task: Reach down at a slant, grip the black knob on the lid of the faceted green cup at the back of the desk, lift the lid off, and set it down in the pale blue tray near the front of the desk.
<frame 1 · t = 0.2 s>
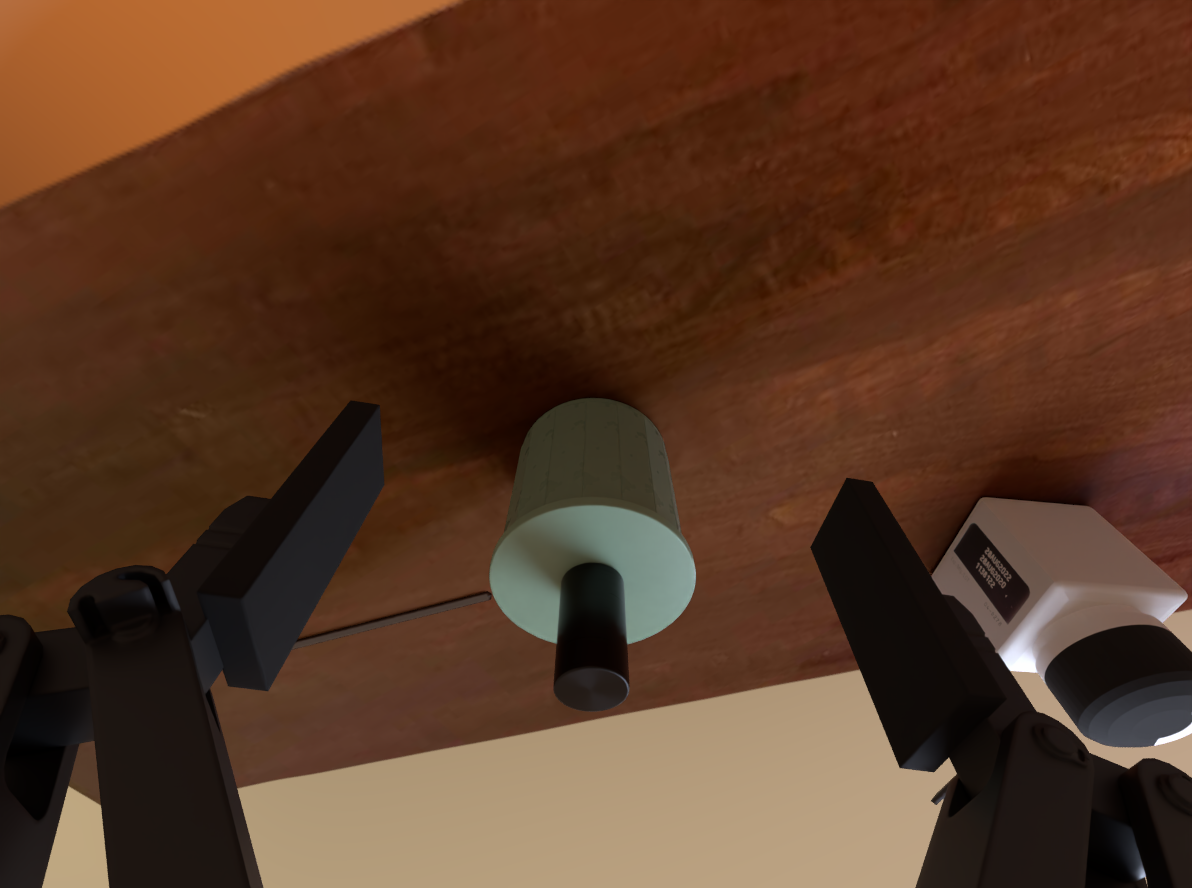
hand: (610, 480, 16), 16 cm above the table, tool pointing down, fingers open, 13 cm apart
container: (1003, 540, 39), on the table
faceted green cup: (593, 460, 35), on the table
lid: (592, 574, 27), point 9 cm above the table, touching faceted green cup
rod: (383, 616, 44), on the table
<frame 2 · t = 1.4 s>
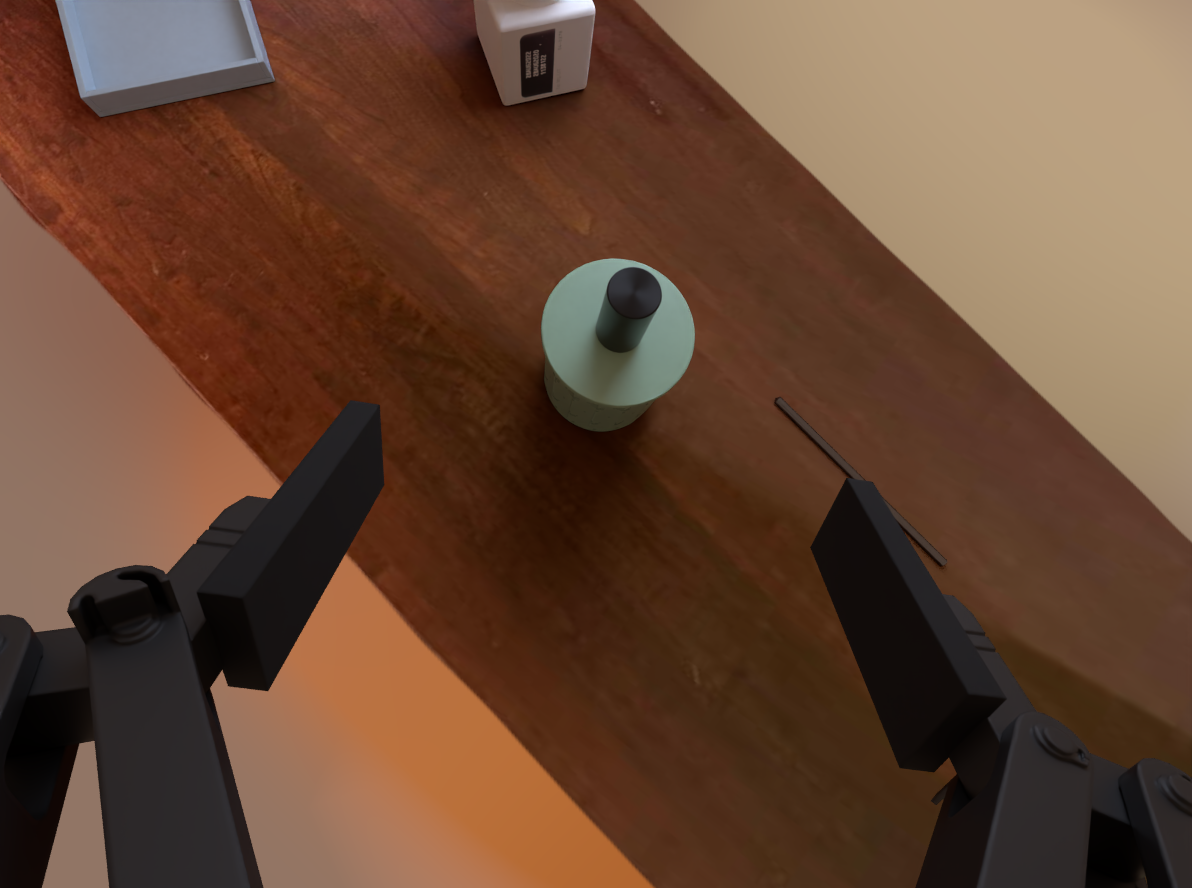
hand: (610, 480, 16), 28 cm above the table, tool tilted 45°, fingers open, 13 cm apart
container: (532, 63, 50), on the table
tray: (169, 29, 46), on the table
faceted green cup: (600, 376, 45), on the table
lid: (617, 333, 36), point 9 cm above the table, touching faceted green cup
rod: (854, 480, 47), on the table
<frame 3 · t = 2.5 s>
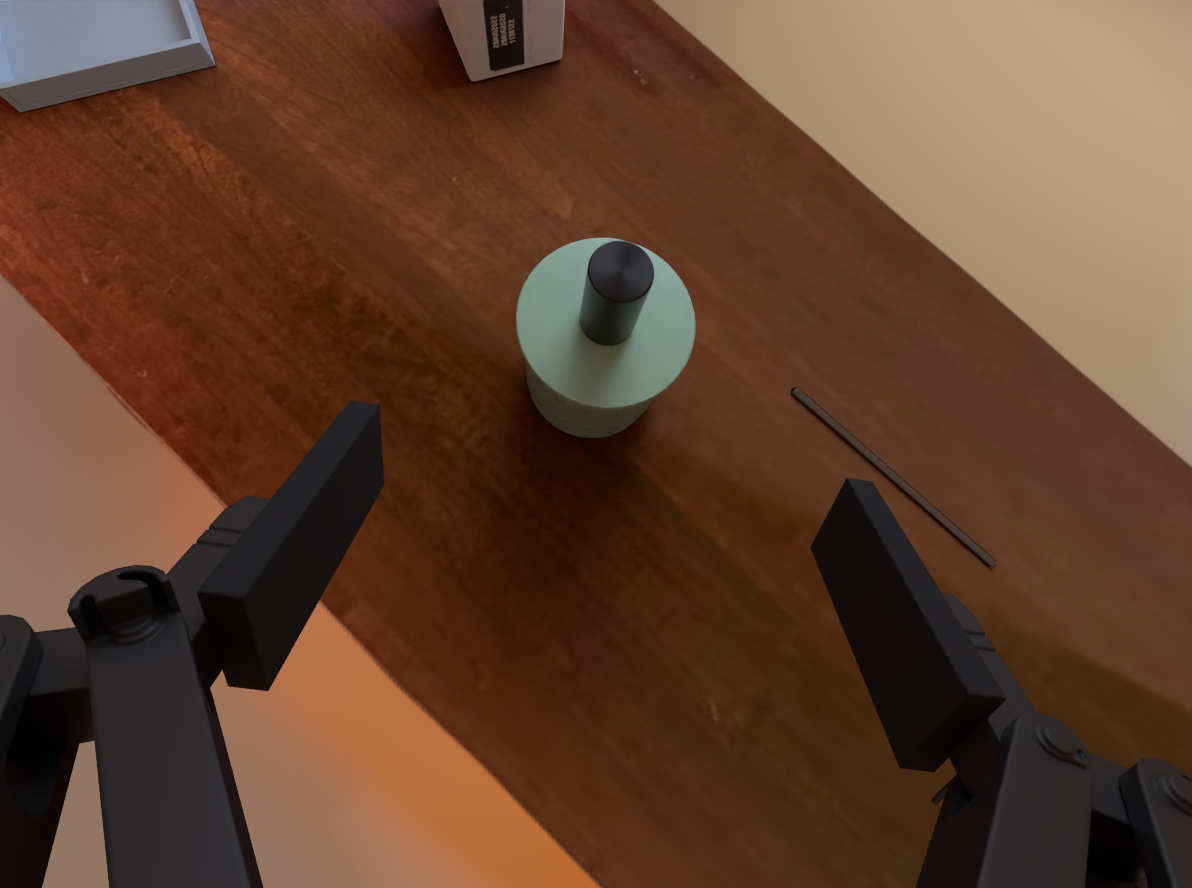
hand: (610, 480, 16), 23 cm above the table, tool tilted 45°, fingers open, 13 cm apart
container: (501, 35, 45), on the table
tray: (97, 13, 42), on the table
faceted green cup: (590, 376, 40), on the table
lid: (605, 324, 31), point 9 cm above the table, touching faceted green cup
rod: (885, 476, 42), on the table
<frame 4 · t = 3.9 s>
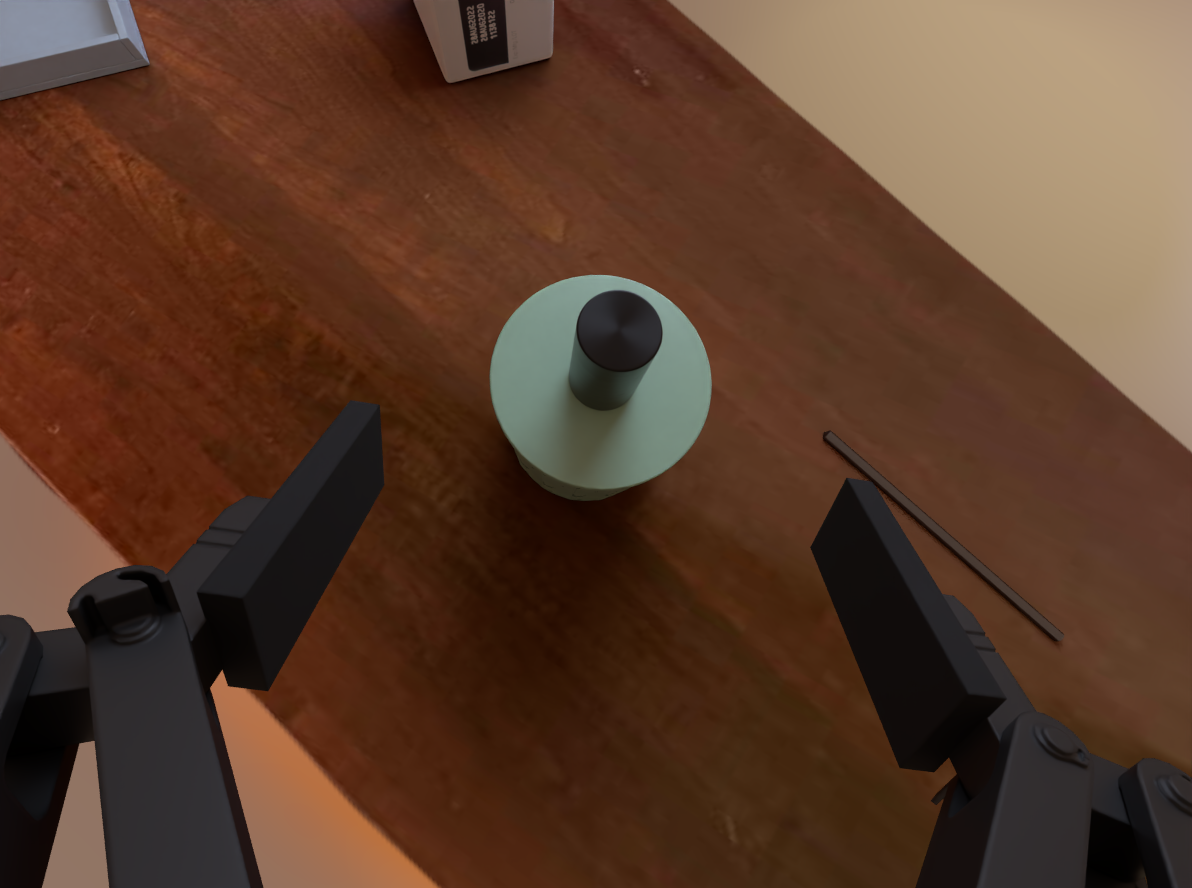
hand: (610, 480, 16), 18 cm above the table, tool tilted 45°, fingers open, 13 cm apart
container: (482, 30, 39), on the table
tray: (12, 4, 36), on the table
faceted green cup: (585, 427, 34), on the table
lid: (601, 381, 25), point 9 cm above the table, touching faceted green cup
rod: (933, 533, 36), on the table
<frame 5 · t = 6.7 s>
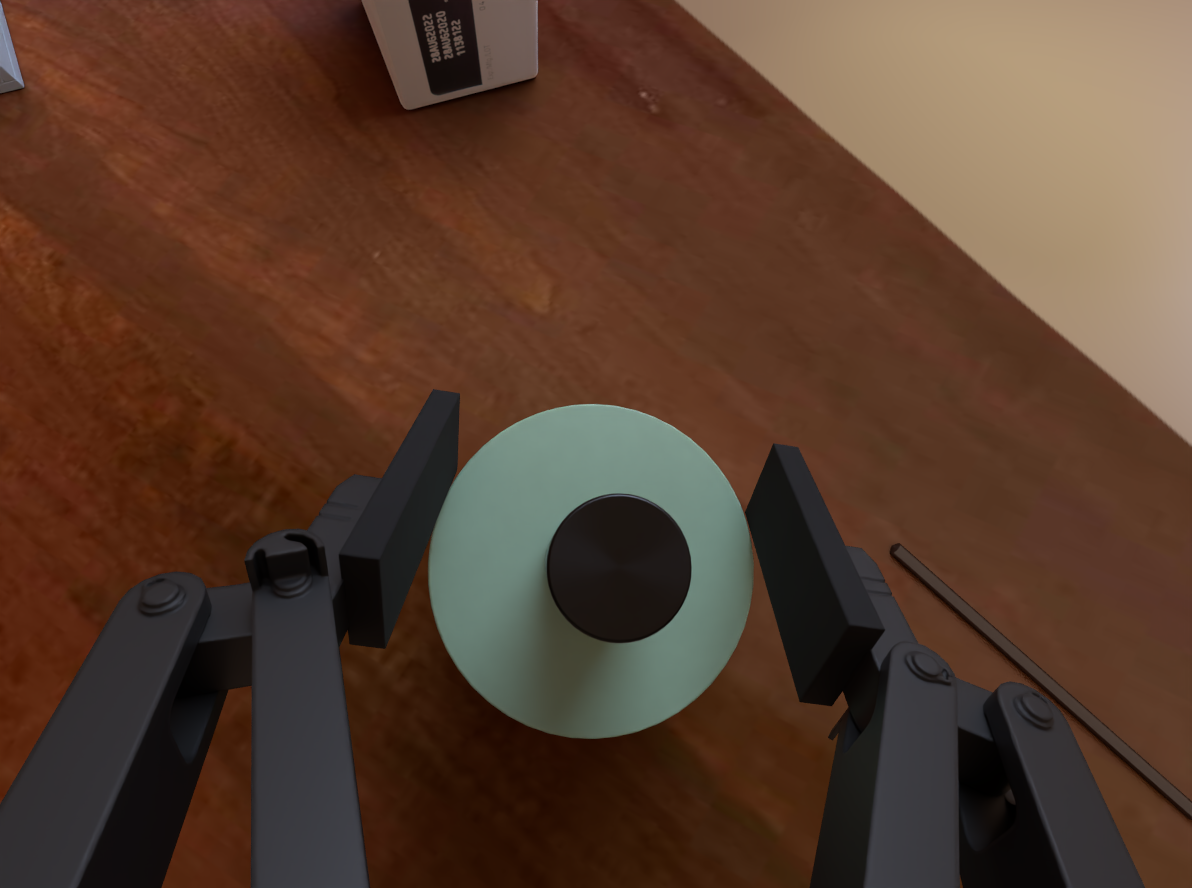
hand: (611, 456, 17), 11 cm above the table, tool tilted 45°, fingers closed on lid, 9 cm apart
container: (451, 42, 32), on the table
lid: (593, 561, 17), point 10 cm above the table, touching faceted green cup, gripper
rod: (1030, 674, 28), on the table
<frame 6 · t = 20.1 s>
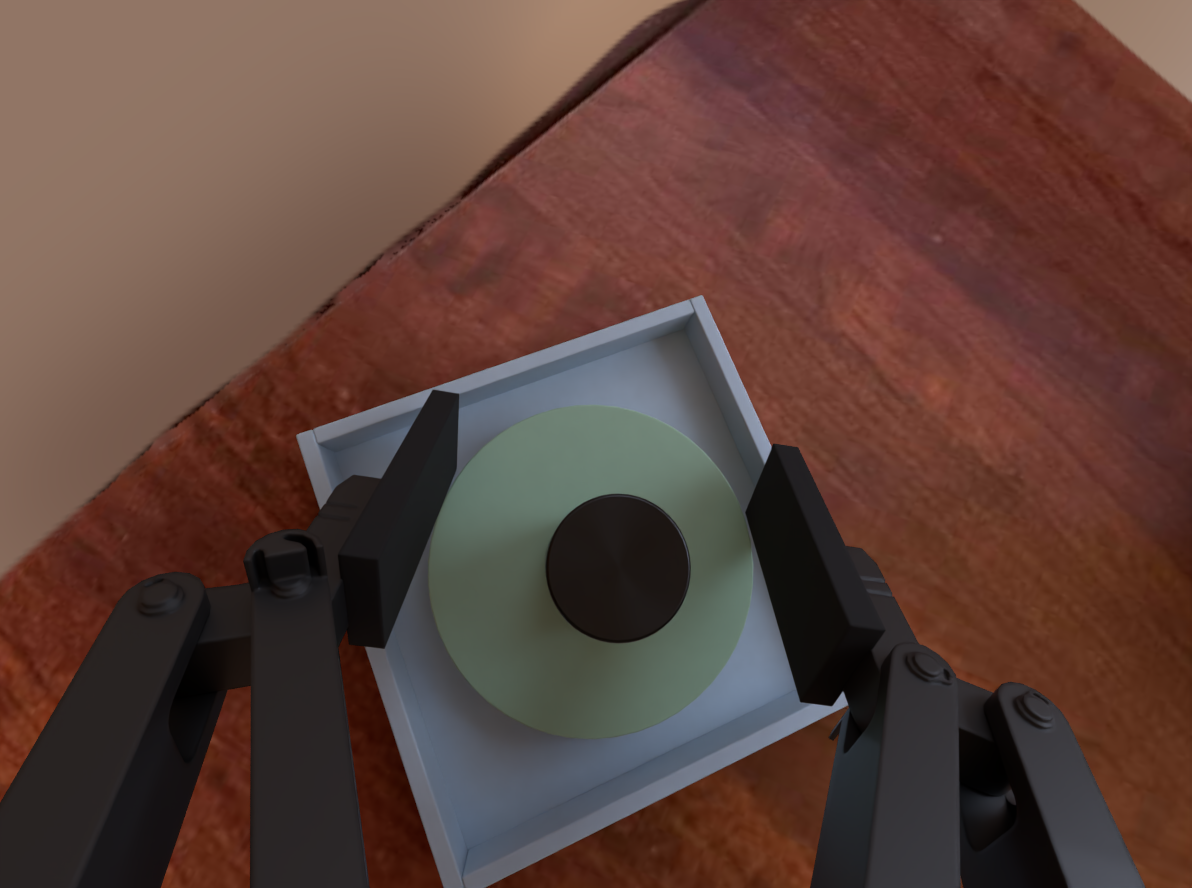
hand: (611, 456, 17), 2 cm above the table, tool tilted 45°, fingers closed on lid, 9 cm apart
tray: (585, 562, 19), on the table
lid: (593, 562, 17), point 1 cm above the table, touching gripper
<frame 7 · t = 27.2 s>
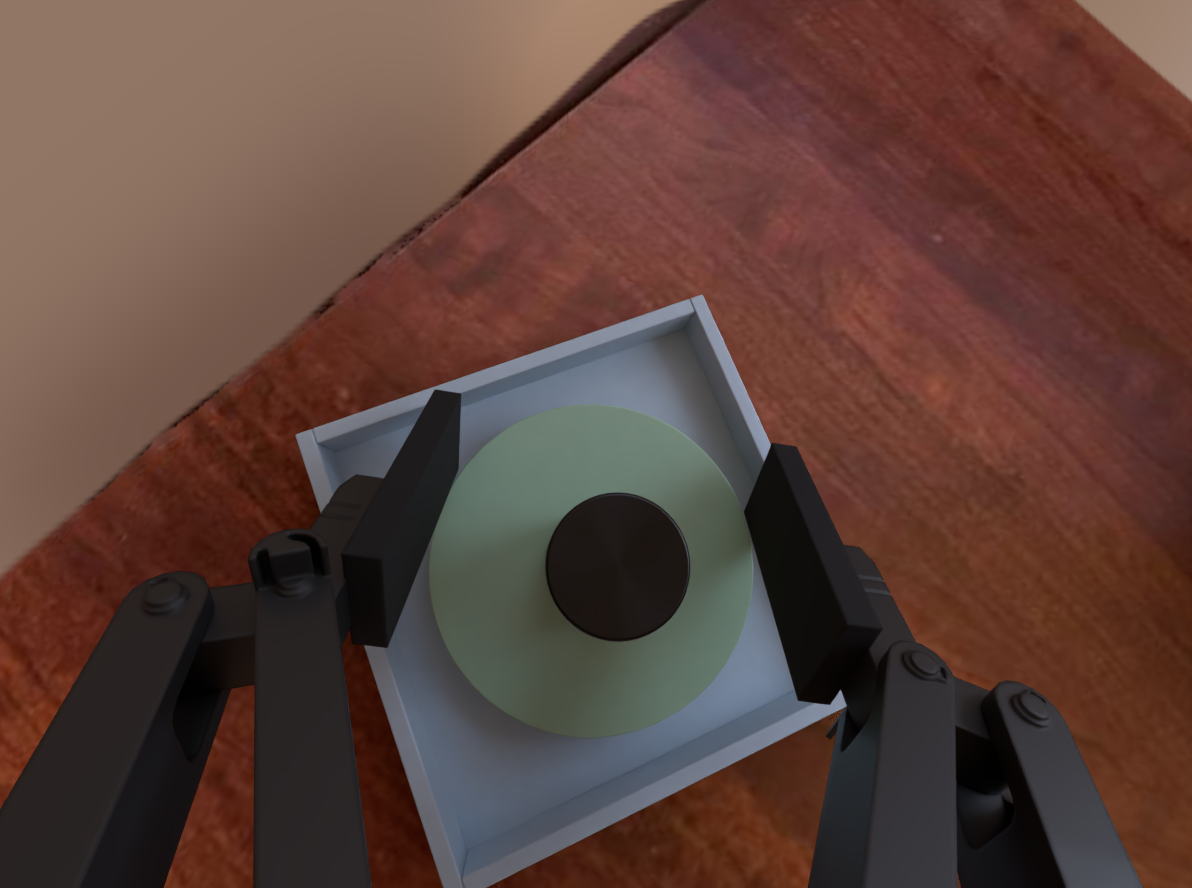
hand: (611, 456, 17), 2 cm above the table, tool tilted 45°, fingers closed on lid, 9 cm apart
tray: (585, 561, 19), on the table
lid: (593, 561, 17), point 1 cm above the table, touching gripper
when the fingers open (4 cm above the table, at t = 30.7 s): lid drops 2 cm, resting on tray.
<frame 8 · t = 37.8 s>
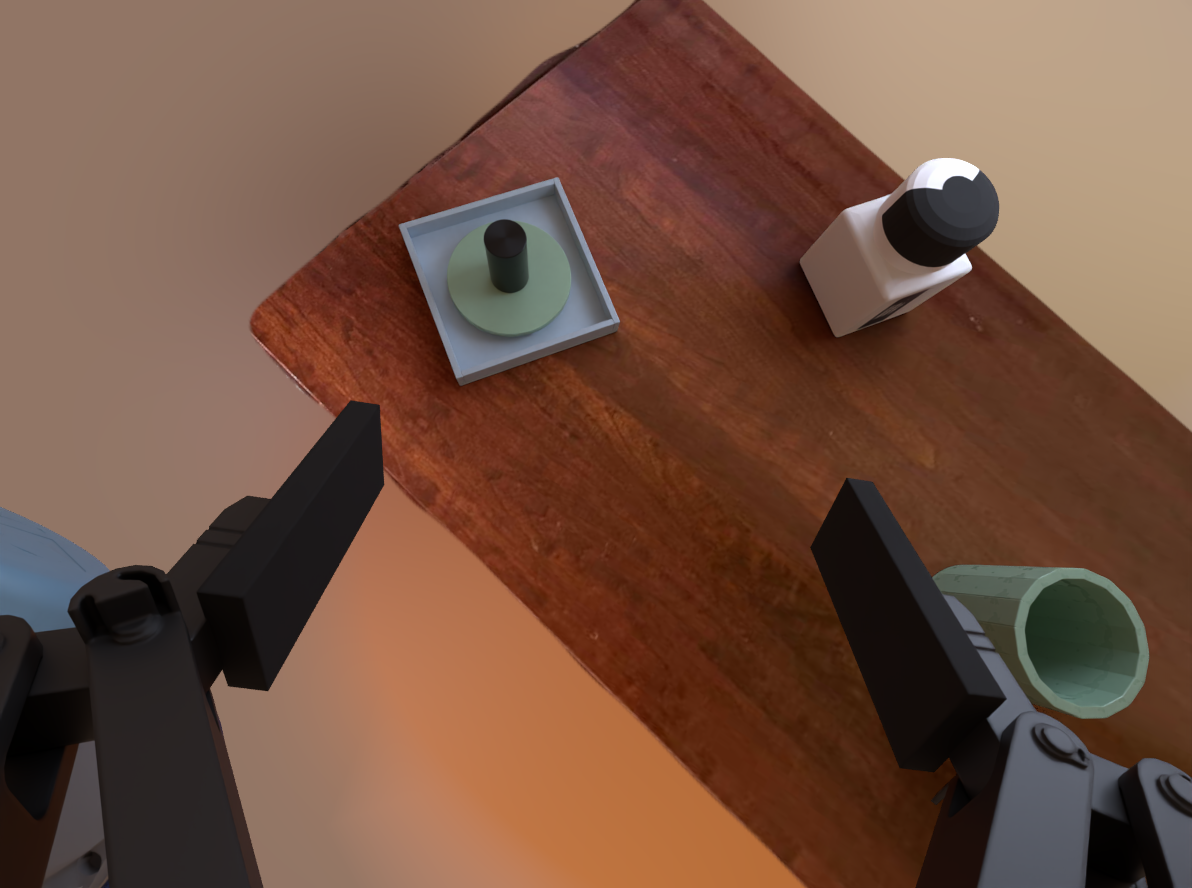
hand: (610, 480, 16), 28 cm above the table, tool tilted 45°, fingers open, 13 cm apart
container: (851, 287, 49), on the table
tray: (510, 285, 46), on the table
faceted green cup: (970, 622, 45), on the table
lid: (510, 279, 45), point 1 cm above the table, touching tray
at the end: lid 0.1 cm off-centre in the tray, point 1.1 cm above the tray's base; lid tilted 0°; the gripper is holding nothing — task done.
